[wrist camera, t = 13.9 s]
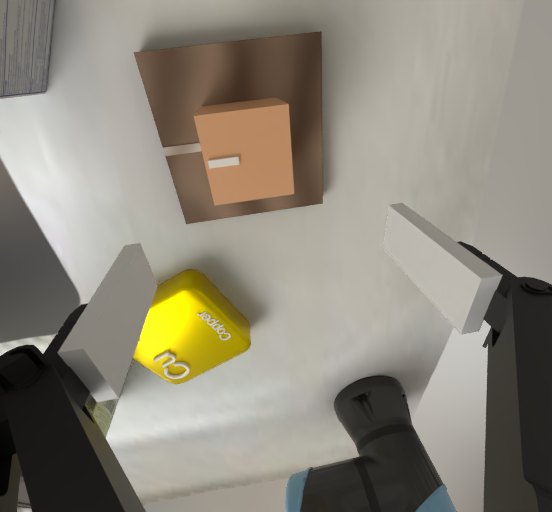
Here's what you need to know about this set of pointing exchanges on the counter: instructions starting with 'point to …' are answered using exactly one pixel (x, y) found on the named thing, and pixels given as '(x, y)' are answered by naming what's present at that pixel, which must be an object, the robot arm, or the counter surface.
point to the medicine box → (25, 46)
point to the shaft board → (228, 89)
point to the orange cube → (246, 149)
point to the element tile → (190, 329)
